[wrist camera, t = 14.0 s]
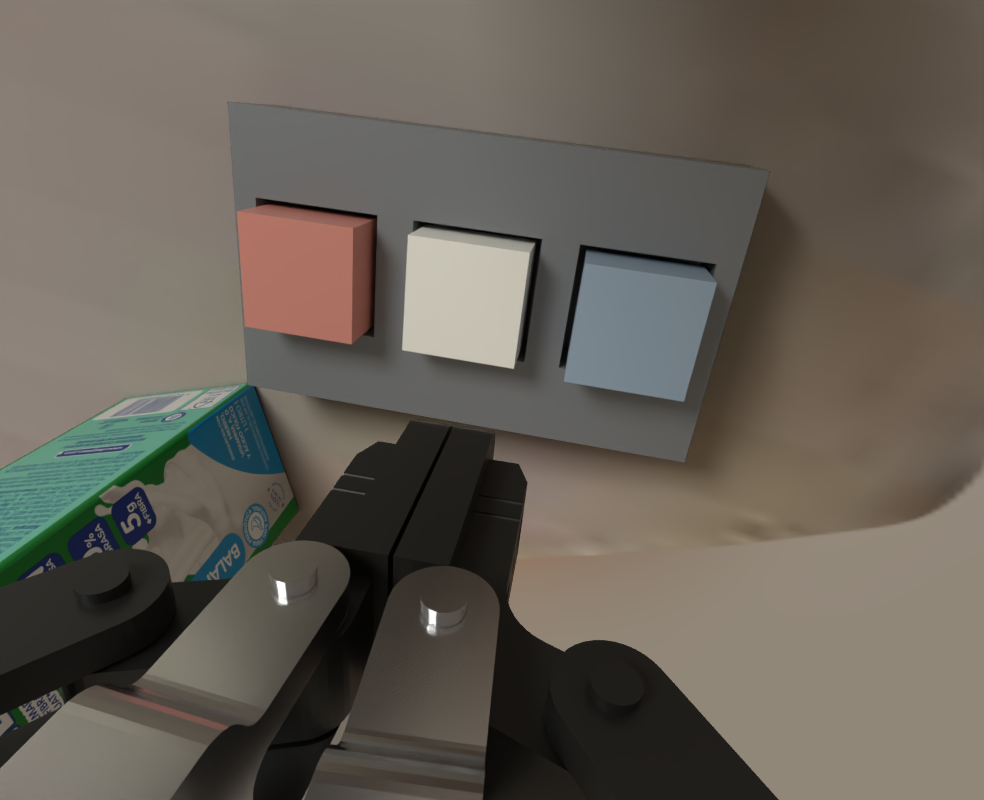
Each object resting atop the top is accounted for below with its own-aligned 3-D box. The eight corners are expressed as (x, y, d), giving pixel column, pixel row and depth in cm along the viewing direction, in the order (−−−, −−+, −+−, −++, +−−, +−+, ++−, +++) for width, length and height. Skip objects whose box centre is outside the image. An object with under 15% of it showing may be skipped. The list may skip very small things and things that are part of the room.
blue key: (586, 249, 26) (584, 263, 23) (704, 266, 25) (717, 282, 22) (567, 357, 28) (563, 381, 25) (675, 374, 27) (683, 401, 25)
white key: (427, 224, 27) (407, 234, 24) (536, 240, 26) (529, 252, 24) (420, 329, 29) (402, 350, 26) (521, 346, 28) (513, 368, 26)
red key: (272, 203, 27) (236, 211, 24) (377, 218, 27) (352, 228, 24) (277, 308, 29) (244, 326, 27) (374, 324, 29) (351, 344, 26)
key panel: (274, 105, 28) (227, 101, 25) (746, 165, 26) (770, 171, 23) (285, 357, 34) (247, 385, 30) (674, 424, 32) (684, 462, 28)
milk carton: (300, 510, 38) (-122, 1048, 16) (180, 518, 40) (-345, 1006, 18) (254, 381, 35) (-368, 836, 12) (125, 397, 37) (-612, 813, 14)
